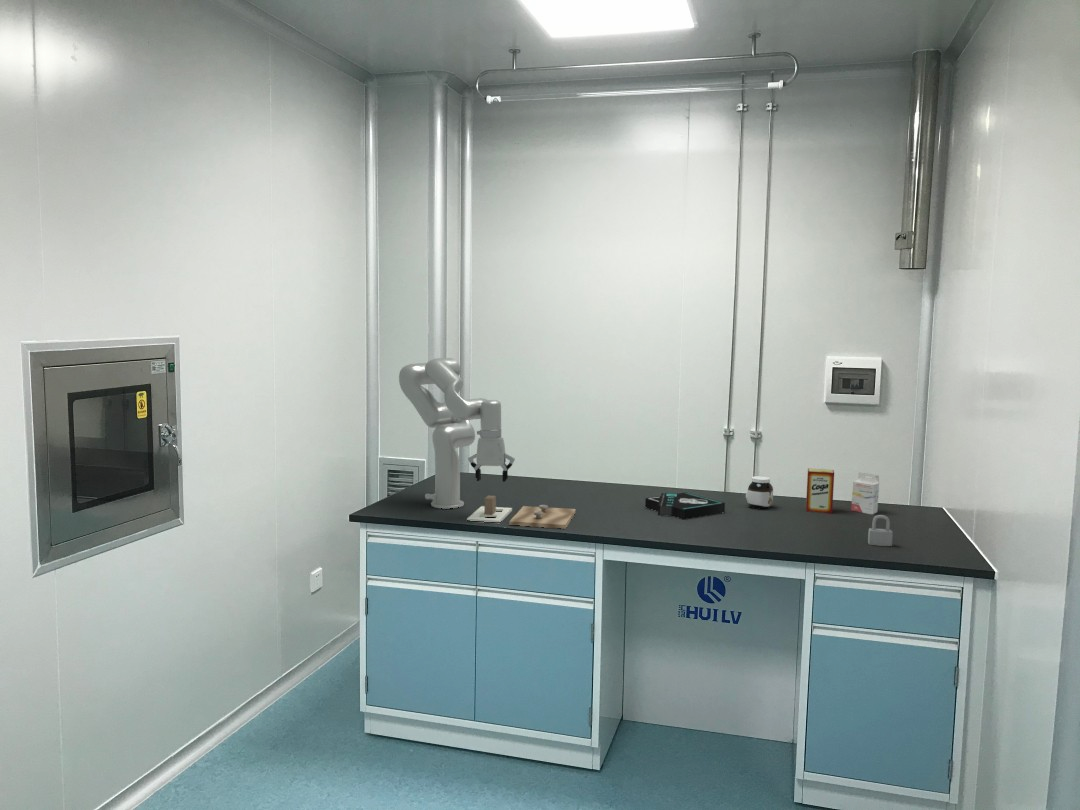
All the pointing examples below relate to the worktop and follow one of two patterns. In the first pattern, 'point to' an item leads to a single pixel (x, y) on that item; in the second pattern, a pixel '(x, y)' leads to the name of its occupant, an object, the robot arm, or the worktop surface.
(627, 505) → the worktop surface
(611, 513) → the worktop surface
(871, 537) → the padlock
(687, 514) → the flat black box
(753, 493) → the spread jar
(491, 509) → the panel
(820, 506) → the baking soda box
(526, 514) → the board
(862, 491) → the ink cartridge box
